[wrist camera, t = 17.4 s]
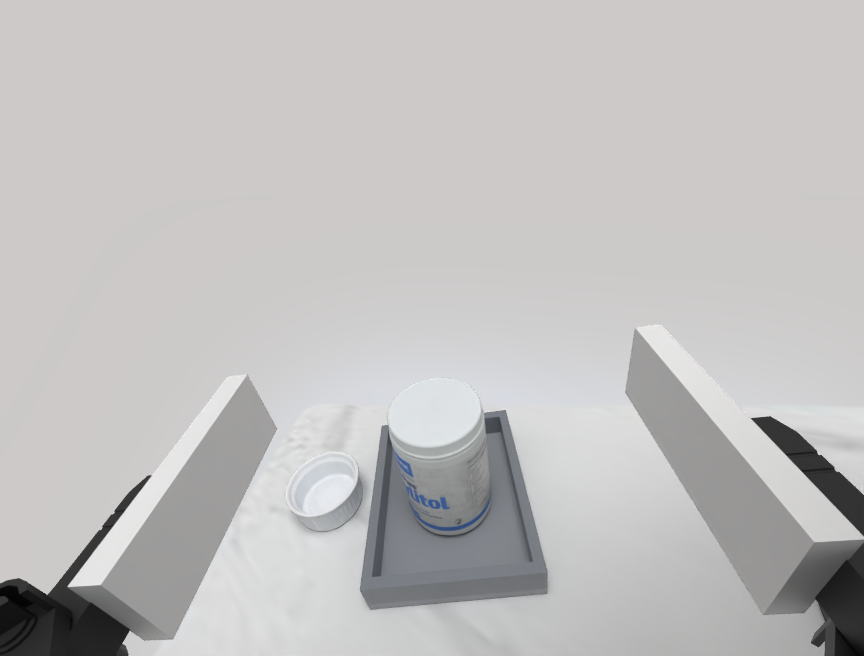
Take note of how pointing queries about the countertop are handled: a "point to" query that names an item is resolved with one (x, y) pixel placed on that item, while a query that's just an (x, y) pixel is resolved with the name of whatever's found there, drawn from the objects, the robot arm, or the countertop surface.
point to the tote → (452, 538)
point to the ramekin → (325, 491)
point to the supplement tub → (442, 454)
